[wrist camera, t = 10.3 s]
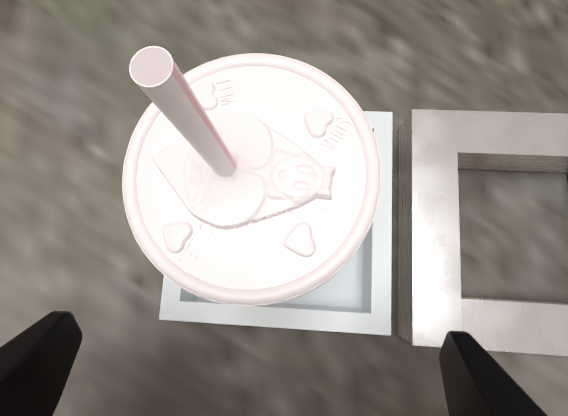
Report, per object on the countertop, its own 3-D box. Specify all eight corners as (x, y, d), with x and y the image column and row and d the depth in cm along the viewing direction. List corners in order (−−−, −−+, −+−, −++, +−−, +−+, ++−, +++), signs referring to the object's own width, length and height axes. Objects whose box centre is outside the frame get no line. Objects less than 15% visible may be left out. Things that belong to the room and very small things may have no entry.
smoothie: (227, 155, 19) (22, -156, 5) (350, 171, 18) (482, -128, 5) (204, 279, 18) (-130, 297, 4) (334, 300, 17) (444, 399, 4)
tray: (376, 325, 18) (390, 335, 15) (182, 312, 18) (158, 319, 15) (379, 136, 19) (392, 112, 16) (201, 130, 20) (183, 106, 17)
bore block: (626, 350, 17) (681, 364, 14) (397, 335, 18) (412, 345, 15) (605, 136, 19) (651, 116, 16) (398, 130, 19) (411, 109, 17)
